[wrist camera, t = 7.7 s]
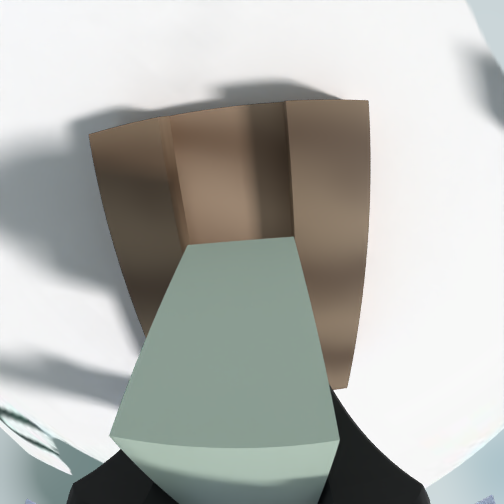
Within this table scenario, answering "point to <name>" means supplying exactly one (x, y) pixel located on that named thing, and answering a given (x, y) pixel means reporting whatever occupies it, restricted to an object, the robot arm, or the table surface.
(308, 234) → the slot stand
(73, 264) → the table surface
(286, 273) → the pale green block
